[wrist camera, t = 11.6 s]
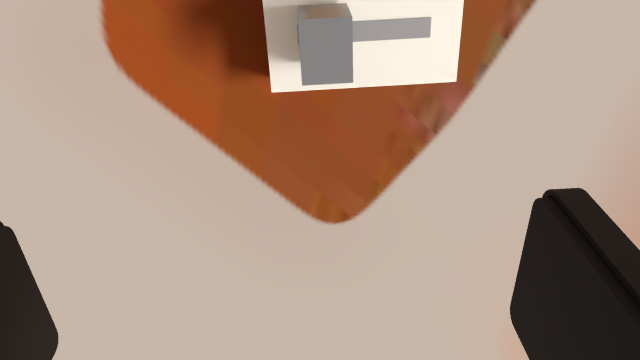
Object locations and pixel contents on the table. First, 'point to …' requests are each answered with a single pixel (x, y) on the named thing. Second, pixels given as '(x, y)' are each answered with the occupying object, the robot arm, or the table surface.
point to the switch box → (373, 42)
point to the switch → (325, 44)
